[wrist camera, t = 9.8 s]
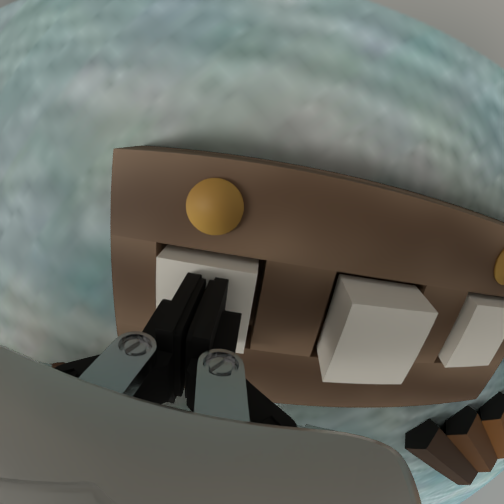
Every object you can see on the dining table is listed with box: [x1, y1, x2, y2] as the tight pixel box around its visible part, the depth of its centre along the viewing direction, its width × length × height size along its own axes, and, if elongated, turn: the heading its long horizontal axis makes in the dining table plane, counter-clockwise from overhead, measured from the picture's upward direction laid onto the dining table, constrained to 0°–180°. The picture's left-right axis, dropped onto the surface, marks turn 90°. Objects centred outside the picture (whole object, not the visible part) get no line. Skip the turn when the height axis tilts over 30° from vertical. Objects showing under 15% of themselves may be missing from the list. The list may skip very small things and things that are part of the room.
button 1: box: [438, 292, 504, 368], centre depth 13 cm, size 4×4×2 cm
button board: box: [111, 146, 504, 407], centre depth 14 cm, size 12×24×3 cm, turn 81°
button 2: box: [156, 244, 259, 354], centre depth 13 cm, size 4×4×2 cm
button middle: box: [316, 274, 438, 384], centre depth 12 cm, size 4×4×2 cm
